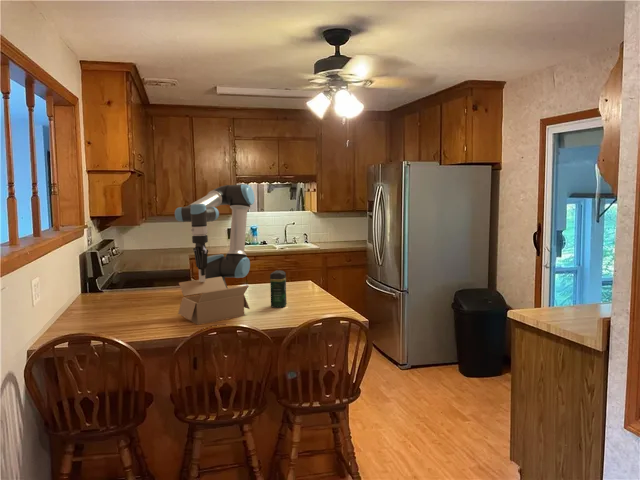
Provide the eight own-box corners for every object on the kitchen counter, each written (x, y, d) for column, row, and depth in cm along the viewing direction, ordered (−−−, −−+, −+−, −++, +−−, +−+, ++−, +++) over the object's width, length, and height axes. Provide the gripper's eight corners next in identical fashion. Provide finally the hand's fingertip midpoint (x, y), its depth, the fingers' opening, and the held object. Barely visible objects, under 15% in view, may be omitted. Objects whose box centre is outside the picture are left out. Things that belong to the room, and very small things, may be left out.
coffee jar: (284, 308, 261) (283, 272, 259) (269, 308, 262) (268, 272, 260) (288, 303, 271) (287, 269, 269) (273, 303, 272) (272, 269, 270)
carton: (177, 319, 245) (176, 298, 244) (235, 308, 264) (234, 288, 262) (191, 326, 233) (189, 304, 232) (250, 314, 251) (249, 293, 250)
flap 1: (183, 296, 247) (178, 283, 251) (226, 289, 261) (221, 277, 265) (184, 295, 247) (179, 282, 251) (227, 288, 260) (221, 276, 264)
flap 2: (198, 301, 233) (203, 292, 228) (242, 294, 247) (248, 285, 241) (198, 302, 233) (203, 293, 228) (243, 295, 247) (248, 286, 241)
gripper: (187, 234, 257) (190, 281, 259) (197, 236, 247) (200, 284, 249) (201, 233, 261) (204, 279, 264) (212, 235, 251) (214, 282, 253)
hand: (202, 281), depth 256 cm, fingers closed
